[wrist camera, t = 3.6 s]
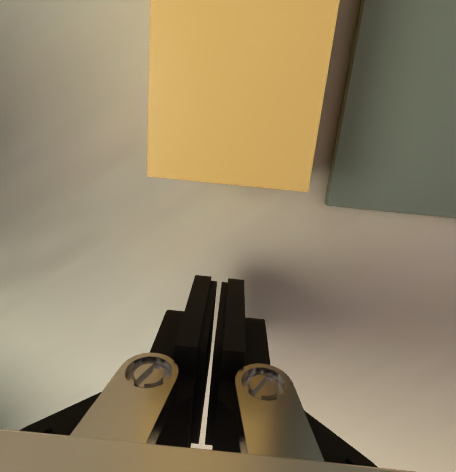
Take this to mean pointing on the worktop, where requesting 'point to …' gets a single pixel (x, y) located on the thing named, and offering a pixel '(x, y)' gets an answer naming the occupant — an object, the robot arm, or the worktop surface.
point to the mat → (399, 111)
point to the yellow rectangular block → (237, 89)
